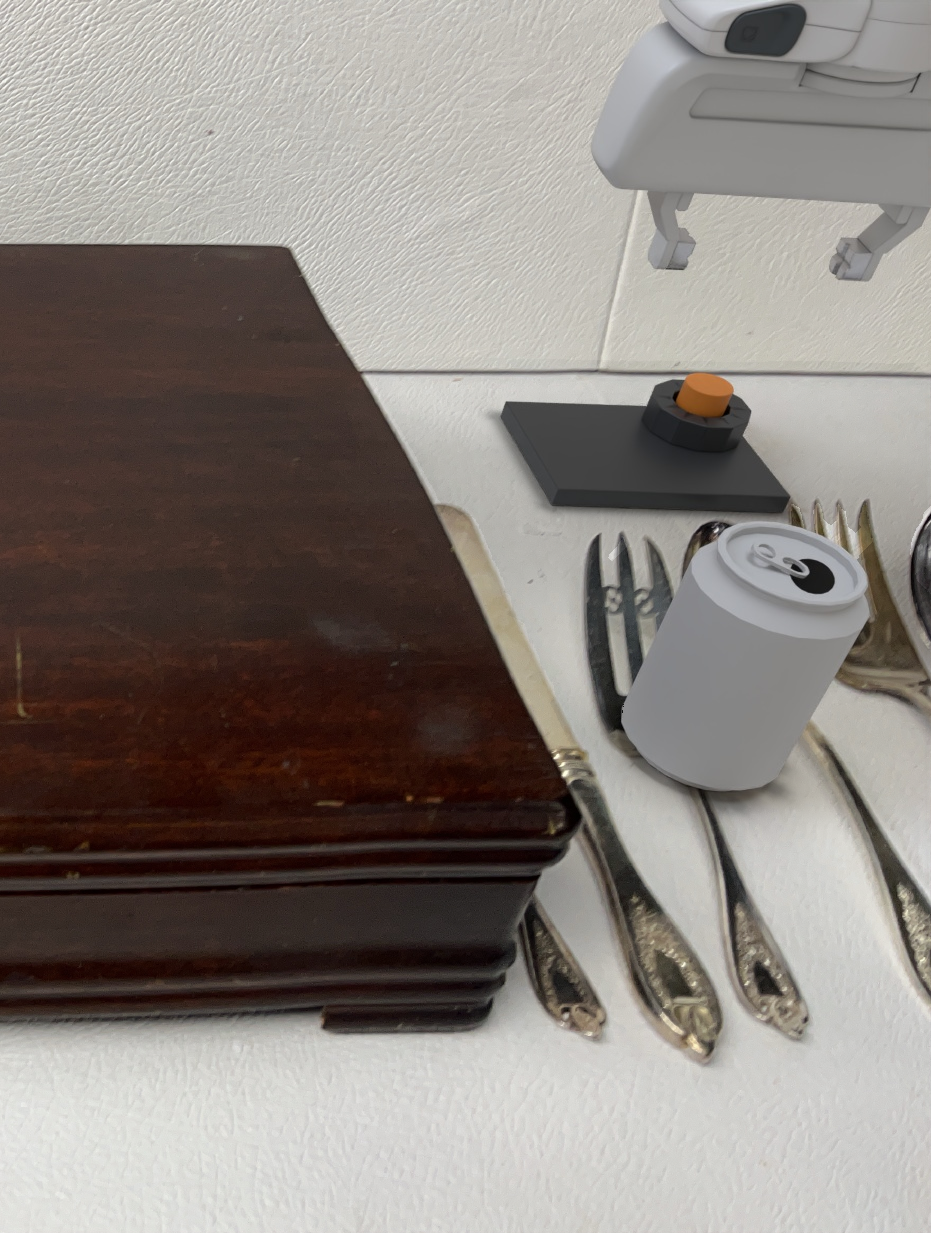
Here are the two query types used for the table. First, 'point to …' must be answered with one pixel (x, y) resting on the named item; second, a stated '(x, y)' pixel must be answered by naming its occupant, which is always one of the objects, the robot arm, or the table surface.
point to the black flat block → (644, 455)
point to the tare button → (705, 395)
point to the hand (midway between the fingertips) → (755, 271)
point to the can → (745, 655)
